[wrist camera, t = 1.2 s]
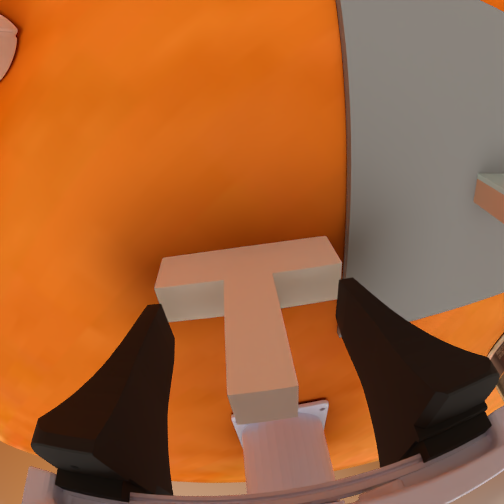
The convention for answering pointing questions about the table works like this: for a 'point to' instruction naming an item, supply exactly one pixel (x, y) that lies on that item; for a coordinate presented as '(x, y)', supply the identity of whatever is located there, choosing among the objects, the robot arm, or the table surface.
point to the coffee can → (498, 363)
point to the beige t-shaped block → (252, 312)
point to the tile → (490, 194)
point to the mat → (422, 150)
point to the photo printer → (6, 44)
